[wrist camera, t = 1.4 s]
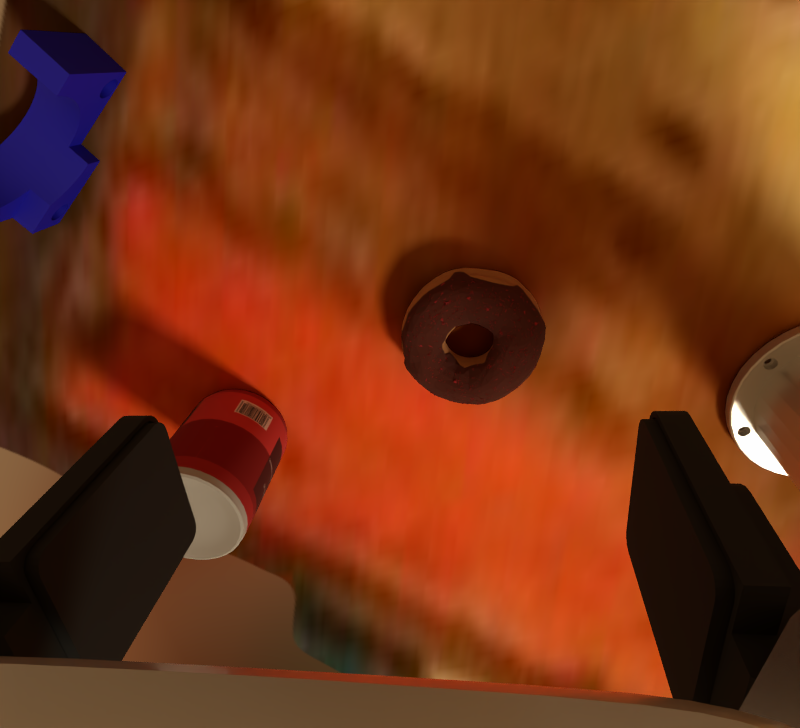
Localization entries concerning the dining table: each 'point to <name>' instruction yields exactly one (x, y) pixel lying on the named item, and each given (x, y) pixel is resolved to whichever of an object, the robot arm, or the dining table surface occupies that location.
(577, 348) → the dining table surface
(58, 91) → the blue pipe cradle
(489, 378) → the donut
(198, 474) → the canned food
